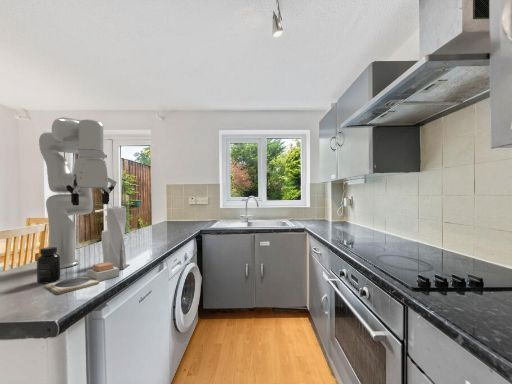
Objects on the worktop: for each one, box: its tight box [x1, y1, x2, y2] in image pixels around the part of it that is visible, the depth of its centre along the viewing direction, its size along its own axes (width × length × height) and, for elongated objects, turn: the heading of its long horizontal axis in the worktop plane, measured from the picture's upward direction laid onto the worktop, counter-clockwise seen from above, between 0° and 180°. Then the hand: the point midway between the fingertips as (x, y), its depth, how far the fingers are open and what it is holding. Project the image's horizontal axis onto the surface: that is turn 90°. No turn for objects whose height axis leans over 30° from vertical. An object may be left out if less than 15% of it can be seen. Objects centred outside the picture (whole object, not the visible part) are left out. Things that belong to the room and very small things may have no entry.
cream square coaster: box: [44, 275, 100, 295], centre depth 91 cm, size 12×12×1 cm
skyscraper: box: [106, 201, 130, 271], centre depth 113 cm, size 8×8×28 cm
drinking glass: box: [101, 229, 110, 263], centre depth 121 cm, size 7×7×15 cm
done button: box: [92, 262, 113, 272], centre depth 100 cm, size 5×5×2 cm
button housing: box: [86, 266, 120, 282], centre depth 100 cm, size 8×8×3 cm
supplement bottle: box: [36, 246, 61, 285], centre depth 96 cm, size 7×7×12 cm
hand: (91, 204), depth 93 cm, fingers open, 9 cm apart
